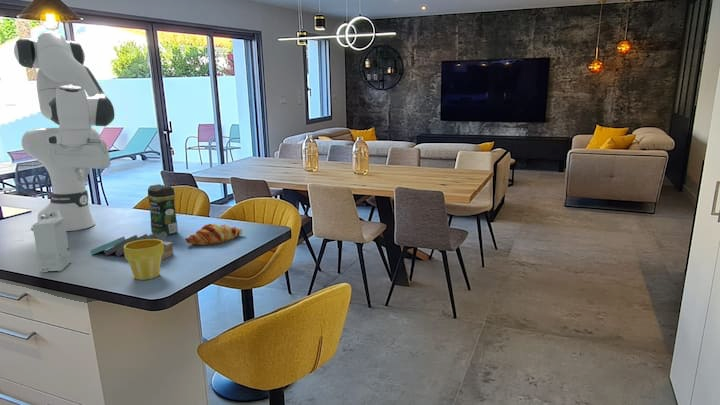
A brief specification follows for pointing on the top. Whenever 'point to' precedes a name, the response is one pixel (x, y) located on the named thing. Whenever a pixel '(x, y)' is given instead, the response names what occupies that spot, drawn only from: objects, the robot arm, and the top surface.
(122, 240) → the domino
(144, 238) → the domino
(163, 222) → the coffee jar
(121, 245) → the domino
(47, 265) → the skincare box
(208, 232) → the croissant
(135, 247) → the plant pot
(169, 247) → the end block
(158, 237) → the domino
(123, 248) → the domino
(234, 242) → the top surface
